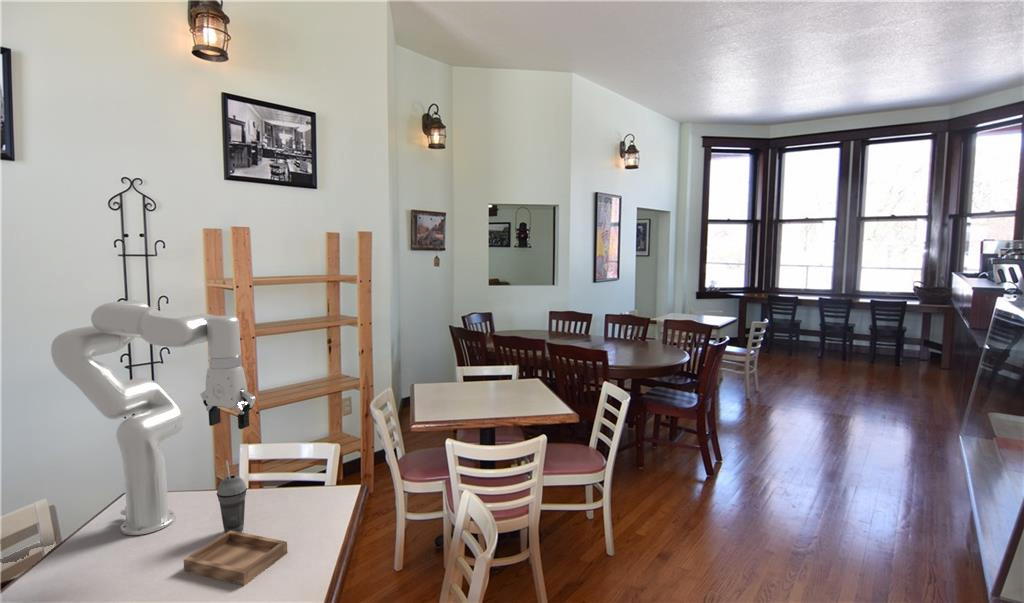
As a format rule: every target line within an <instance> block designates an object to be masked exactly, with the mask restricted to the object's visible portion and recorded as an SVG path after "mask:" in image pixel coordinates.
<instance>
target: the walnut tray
mask: <svg viewBox="0 0 1024 603" xmlns="http://www.w3.org/2000/svg"><path fill="white" fill-rule="evenodd" d="M287 554H288V541H284V540H281V539H275V538H270V537H266V536H265V537H264V536H262V535H261V536H260V535H255V534H251V533H245V532H242V533H241V532H236V531H231V530H230V531H229V532H227V533H225V532H224V534H222V535H221V536H219V537H217V538H216V539H214V540H212V541H211V542H209V543H208V544H206V545H204V546H203V547H201V548H199V549H198V550H197V551H194V552H193V553H191V554H189V555H188V556H186V557H185V558H183V571H184V572H186V573H190V574H195V575H199V576H202V577H207V578H211V579H214V580H215V579H216V580H220V581H223V580H225V581H224V582H227V581H229V582H228V583H231V582H235V583H234V584H236V583H238V584H237V585H240V584H241V585H240V586H244V585H245V586H246V585H247V584H249V583H250V582H252V581H253V580H254V579H255V578H257V577H258V576H259V575H261V574H262V573H263V572H265V571H266V570H267V569H269V568H270V567H271V566H272V565H274V564H275V563H276V562H278V561H279V560H280V559H281V558H283V557H284V556H285V555H287ZM265 569H266V570H265ZM262 571H263V572H262ZM261 572H262V573H261ZM260 573H261V574H260ZM258 574H259V575H258ZM257 575H258V576H257ZM256 576H257V577H256ZM254 577H255V578H254ZM253 578H254V579H253ZM252 579H253V580H252ZM248 582H249V583H248Z"/></svg>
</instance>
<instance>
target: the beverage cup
mask: <svg viewBox="0 0 1024 603" xmlns="http://www.w3.org/2000/svg"><path fill="white" fill-rule="evenodd" d="M228 461H229V460H227V459H226V460H225V466H226V467H225V468H226V474H227V476H226V477H225V478H223V479H222V480H221V481H220V483H219V484H218V487H217V490H216V496H217V499H218V503H219V506H220V508H219V509H220V513H221V520H222V526H223V531H224V534H225V533H227V532H229V531H230V530H231V531H236V532H241V533H243V532H244V526H245V512H246V511H245V507H246V506H245V505H246V496H247V490H248V488H247V485H246V482H245V480H244V479H243V478H242V477H241V476H238V475H230V474H231V472H230V467H229V462H228ZM242 531H243V532H242Z"/></svg>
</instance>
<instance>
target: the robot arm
mask: <svg viewBox="0 0 1024 603" xmlns="http://www.w3.org/2000/svg"><path fill="white" fill-rule="evenodd" d="M90 320H91V324H92V325H90V326H89V325H88V326H83V327H77V328H72V329H69V330H65V331H64V332H61V333H60V334H57V336H56V337H55V338H54V339H53V340H52V342H51V347H50V355H51V359H52V361H53V364H54V365H55V367H56V369H57V370H58V371H59V372H60V373H61V374H62V375H63V376H64V377H65V378H66V379H68V380H70V382H72V383H73V384H74V385H75V386H76V387H77V388H78V390H80V391H81V392H82V393H83V395H84V396H85V397H86V398H87V399H88V401H89V402H90V403H92V404H93V406H94V407H95V408H96V409H97V411H99V412H100V413H101V415H103V416H104V417H105V418H107V419H109V420H119V419H122V418H123V419H124V418H125V417H127V418H126V419H124V420H123V421H122V422H121V423H120V424H119V425H118V427H117V429H116V434H115V435H116V441H117V444H118V447H119V449H120V450H119V451H120V454H121V458H122V468H123V477H124V492H125V503H126V504H125V506H124V507H125V508H124V509H121V510H120V513H119V514H120V515H122V516H125V521H123V523H121V525H120V530H121V531H120V532H121V533H122V534H124V535H127V536H140V535H146V534H150V533H153V532H157V531H159V530H162V529H165V528H166V527H169V525H171V524H172V523H173V522H174V521H175V519H176V513H175V512H174V511H173V510H171V509H169V500H168V499H169V498H168V486H167V485H168V484H167V483H168V482H167V470H166V469H167V468H166V460H165V456H164V453H163V452H162V451H161V450H160V448H159V447H158V444H159V443H161V442H163V441H165V440H167V439H170V438H171V437H173V436H176V435H177V434H179V433H181V432H182V430H183V429H184V427H185V425H186V424H185V423H186V417H185V415H184V411H182V409H181V408H180V407H179V406H178V404H177V403H176V402H175V401H174V400H173V399H172V398H171V396H170V395H169V394H168V393H167V392H166V391H165V390H164V389H163V388H162V387H161V385H159V383H158V382H156V381H155V380H152V379H150V378H148V377H137V378H132V379H129V380H124V379H122V378H121V377H119V376H118V375H117V374H116V373H115V372H114V370H113V369H112V368H111V367H109V366H108V365H106V364H104V363H103V362H99V361H97V360H95V359H93V358H92V357H97V356H103V355H107V354H112V353H116V352H118V351H120V350H122V349H124V348H126V346H128V345H129V344H130V343H131V342H132V341H133V340H134V339H136V338H138V339H142V340H144V341H145V342H147V343H148V344H149V345H153V346H159V347H167V348H175V349H176V348H185V347H190V346H193V345H197V344H204V343H207V348H208V349H207V350H208V359H207V361H208V364H209V365H208V366H209V367H208V368H207V370H206V376H205V390H204V391H202V392H201V393H200V397H201V399H202V401H203V402H202V403H203V405H204V406H205V407H206V408H205V410H206V411H207V412H208V425H209V426H210V427H212V426H215V425H218V424H220V423H221V421H222V420H221V418H222V417H221V408H229V409H232V408H235V409H236V410H237V411H238V414H237V428H238V430H242V429H245V428H248V427H249V426H250V412H251V410H252V408H253V407H254V404H255V402H256V400H257V398H256V396H254V395H253V394H252V393H250V392H249V391H248V386H247V385H248V384H247V380H246V375H245V369H244V367H243V365H242V364H243V363H242V348H241V332H240V331H241V330H240V329H241V328H240V320H239V318H238V317H237V316H236V315H215V314H210V313H202V314H201V313H200V314H195V315H187V316H182V317H165V316H163V314H162V313H161V311H160V310H159V309H158V308H155V307H154V306H153V307H152V306H149V305H148V304H146V303H145V302H144V301H140V300H137V299H135V300H133V299H132V300H130V299H129V300H121V301H114V302H106V303H103V304H101V305H99V306H97V307H96V308H94V310H93V311H92V314H91V317H90Z"/></svg>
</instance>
